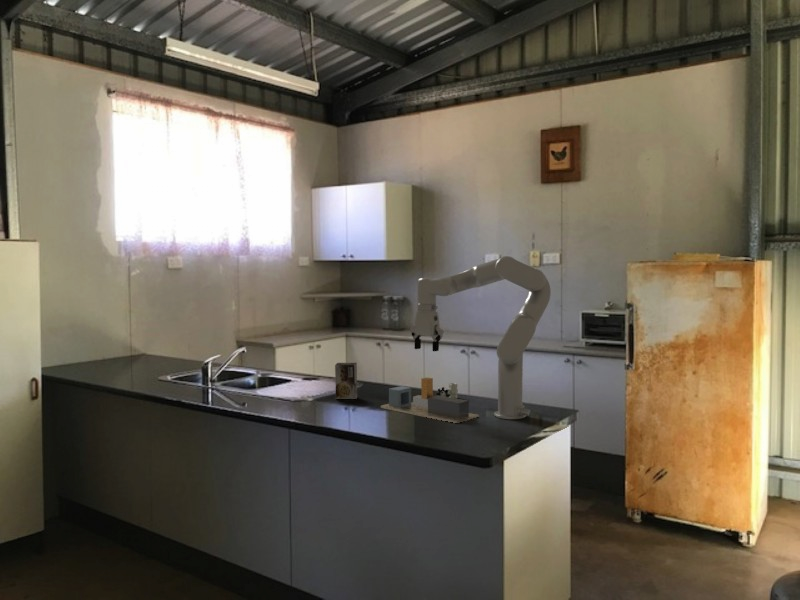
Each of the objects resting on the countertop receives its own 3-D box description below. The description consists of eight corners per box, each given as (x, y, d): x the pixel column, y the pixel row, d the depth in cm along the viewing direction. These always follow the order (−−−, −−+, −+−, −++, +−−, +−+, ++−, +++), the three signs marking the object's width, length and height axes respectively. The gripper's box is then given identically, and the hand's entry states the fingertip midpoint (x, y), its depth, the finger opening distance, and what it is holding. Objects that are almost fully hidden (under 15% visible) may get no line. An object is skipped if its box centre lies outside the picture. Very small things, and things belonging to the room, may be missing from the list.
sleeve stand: (478, 417, 254) (478, 399, 253) (456, 423, 243) (456, 405, 243) (403, 402, 282) (403, 386, 281) (380, 407, 272) (380, 391, 271)
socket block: (411, 403, 274) (411, 387, 274) (398, 407, 269) (398, 390, 268) (401, 402, 278) (401, 386, 278) (389, 405, 272) (388, 388, 272)
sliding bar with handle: (463, 413, 253) (463, 382, 252) (456, 414, 250) (456, 384, 249) (419, 404, 268) (419, 376, 268) (413, 406, 265) (412, 377, 265)
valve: (448, 396, 294) (436, 401, 284) (448, 382, 294) (436, 386, 284) (461, 398, 291) (449, 403, 281) (461, 383, 290) (449, 388, 280)
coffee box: (357, 397, 294) (357, 362, 293) (355, 400, 287) (354, 364, 286) (338, 397, 294) (337, 362, 294) (335, 400, 288) (334, 364, 287)
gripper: (449, 308, 257) (448, 351, 258) (417, 306, 269) (416, 347, 270) (437, 309, 252) (436, 352, 253) (404, 307, 264) (404, 348, 265)
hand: (426, 349), depth 262 cm, fingers open, 9 cm apart
